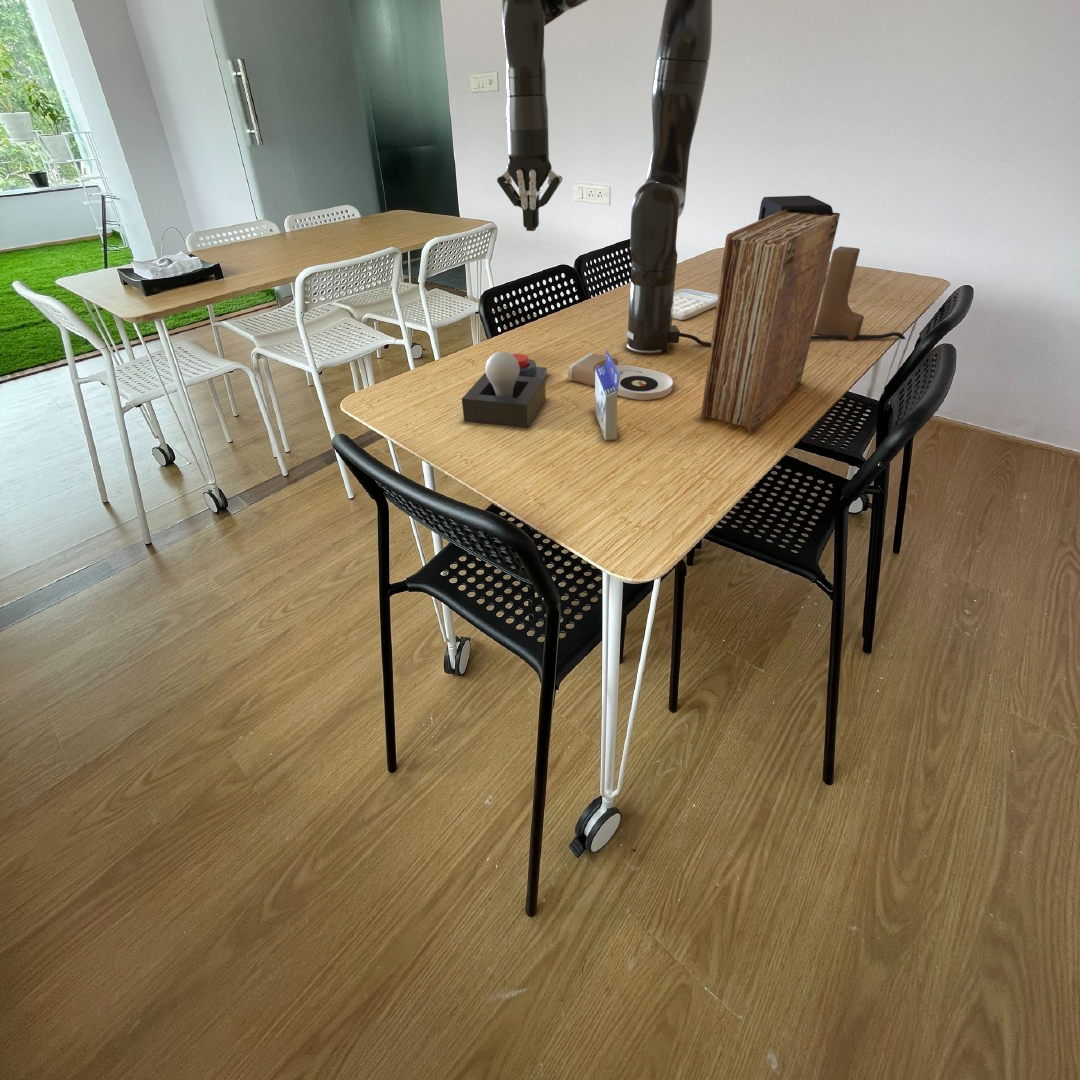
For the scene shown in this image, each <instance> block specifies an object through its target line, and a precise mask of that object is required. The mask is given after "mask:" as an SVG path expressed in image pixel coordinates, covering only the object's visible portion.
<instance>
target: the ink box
mask: <svg viewBox="0 0 1080 1080" xmlns="http://www.w3.org/2000/svg"><path fill="white" fill-rule="evenodd" d="M605 356H606V365H603V366H601V367H598V368H596V369H595V386H594V414H595V416H596V420H597V422H598V425H599V428H600V430H601V433H602V436H603V439H604V440H605V441H613V440H614V441H615V440H617V439H618V395H617V392H618V385H619V379H620V375H619V373H618V371H617V369H616V367H615V365H614V362H613V360H612V358H613V357H612V356H611V354H610V353H609V351H608V349H607V350H605ZM611 357H612V358H611ZM611 368H612V369H613V372H614V375H613V373H612V371H611Z"/></svg>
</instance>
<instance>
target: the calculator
mask: <svg viewBox="0 0 1080 1080" xmlns="http://www.w3.org/2000/svg"><path fill="white" fill-rule="evenodd" d="M717 299H718V294H715V293H710V292H705V291H700V290H694V289H690V288H682V289H678V290H676V291H674V296H673V302H674V306H673V316H672V319H675V320H680V321H685V320H688V319H690V318H693V317H695V316H698V315H700V314H702V313H705V312H707V311H709V310H710V309H711V310H712V309H713V308H716V306H717Z"/></svg>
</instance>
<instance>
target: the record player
mask: <svg viewBox="0 0 1080 1080" xmlns="http://www.w3.org/2000/svg"><path fill="white" fill-rule="evenodd" d="M611 358H612V360H613V362H614V365H615V367H616V369H617V371H618V373H619V375H620V379H619V385H618V392H617V396H619V397H622V398H627V399H631V400H632V399H633V400H638V401H646V400H647V401H650V400H657V399H661V398H664V397H666V396H668V395H669V394H671V392H672V391H673V383H674V382H673V379H672V378H671V376H670V375H668V374H666V373H664V372H662V371H658V370H655V369H654V370H653V369H650V368H649V369H648V368H644V367H640V366H635V365H631V364H619V360H618V359H617V358H616V357H612V356H611ZM603 365H606V355H602V354H598V353H594V352H589V353H588V354H586V355H584V356H582V357H581V358H580V359H578V360H576V361H575V362H573V363H571V364H570V365H569V366H568V370H567V379H568V380H569V381H571V382H576V383H580V384H583V385H587V386H591V387H595V369H596V368H598V367H601V366H603ZM611 371H612V373H613V375H614V372H613V369H612V368H611Z"/></svg>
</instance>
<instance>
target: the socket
mask: <svg viewBox="0 0 1080 1080" xmlns="http://www.w3.org/2000/svg"><path fill="white" fill-rule="evenodd" d="M546 398H547V397H546V377H545V378H538V377H526V376H518V378H517V381H516V382H515V385H514V388H513V397H501V396H496V394H495V390H494V388H493V385H492V384H491V382H490V381H489V379H488V377H487V375H486V372H484V373H483V374H482V375H481V377H480V378H479V379H477V381H476V382H475V383H474V385H472V387H471V388H470V389H469V390H468V391H467V392H466V393H465V394H464V396H462V398H461V407H462V415H463V422H464V423H470V424H471V423H473V424H481V425H483V424H484V425H493V426H501V427H503V426H504V427H511V428H521V429H528V428H529V427H530V425H531V424H532V422H533V421H534V419H535V418H536V416H537V415H538V413H539V411H540V410H541V408H542V407H543V405H544V404H545V402H546V400H547V399H546Z"/></svg>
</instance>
